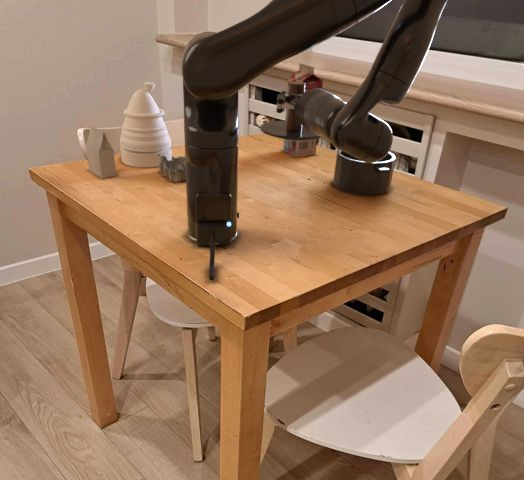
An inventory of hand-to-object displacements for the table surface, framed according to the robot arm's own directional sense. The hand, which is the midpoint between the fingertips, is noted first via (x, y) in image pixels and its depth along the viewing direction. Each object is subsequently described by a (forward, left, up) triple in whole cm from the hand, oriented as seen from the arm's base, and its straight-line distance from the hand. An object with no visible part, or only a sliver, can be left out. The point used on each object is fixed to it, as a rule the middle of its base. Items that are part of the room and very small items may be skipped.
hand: (291, 95), depth 113 cm
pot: (+1, -19, -20) cm, 27 cm away
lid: (-3, -1, -6) cm, 7 cm away
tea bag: (+9, +43, -20) cm, 48 cm away
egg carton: (+8, +25, -20) cm, 33 cm away
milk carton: (+28, -9, -20) cm, 36 cm away
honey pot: (+20, +33, -20) cm, 43 cm away
